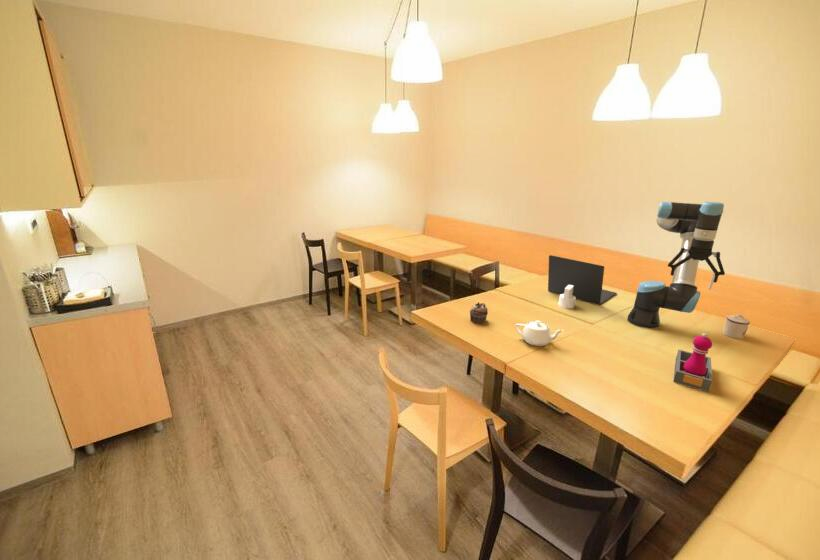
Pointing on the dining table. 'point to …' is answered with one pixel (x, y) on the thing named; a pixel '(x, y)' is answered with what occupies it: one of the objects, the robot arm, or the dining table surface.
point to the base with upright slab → (567, 298)
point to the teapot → (537, 333)
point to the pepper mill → (698, 356)
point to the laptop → (578, 279)
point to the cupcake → (478, 313)
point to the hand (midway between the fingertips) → (690, 285)
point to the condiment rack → (691, 379)
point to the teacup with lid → (736, 326)
